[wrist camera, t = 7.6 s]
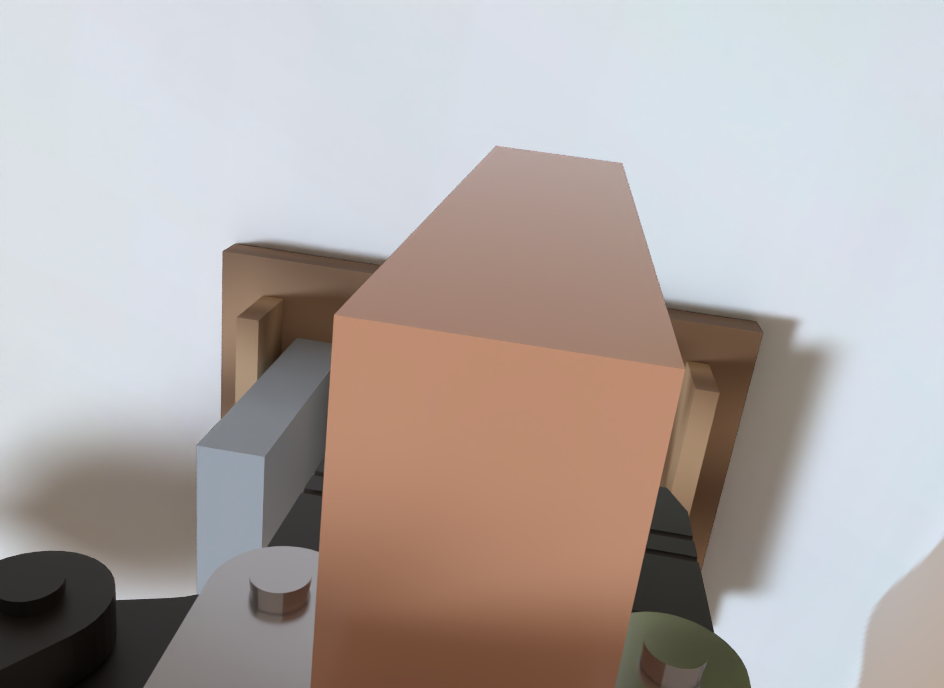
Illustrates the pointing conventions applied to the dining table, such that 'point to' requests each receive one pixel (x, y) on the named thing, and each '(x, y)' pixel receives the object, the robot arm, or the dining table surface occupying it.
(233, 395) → the dish rack
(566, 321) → the salmon pink rectangular prism
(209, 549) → the grey-blue thick slab
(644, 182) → the dining table surface
